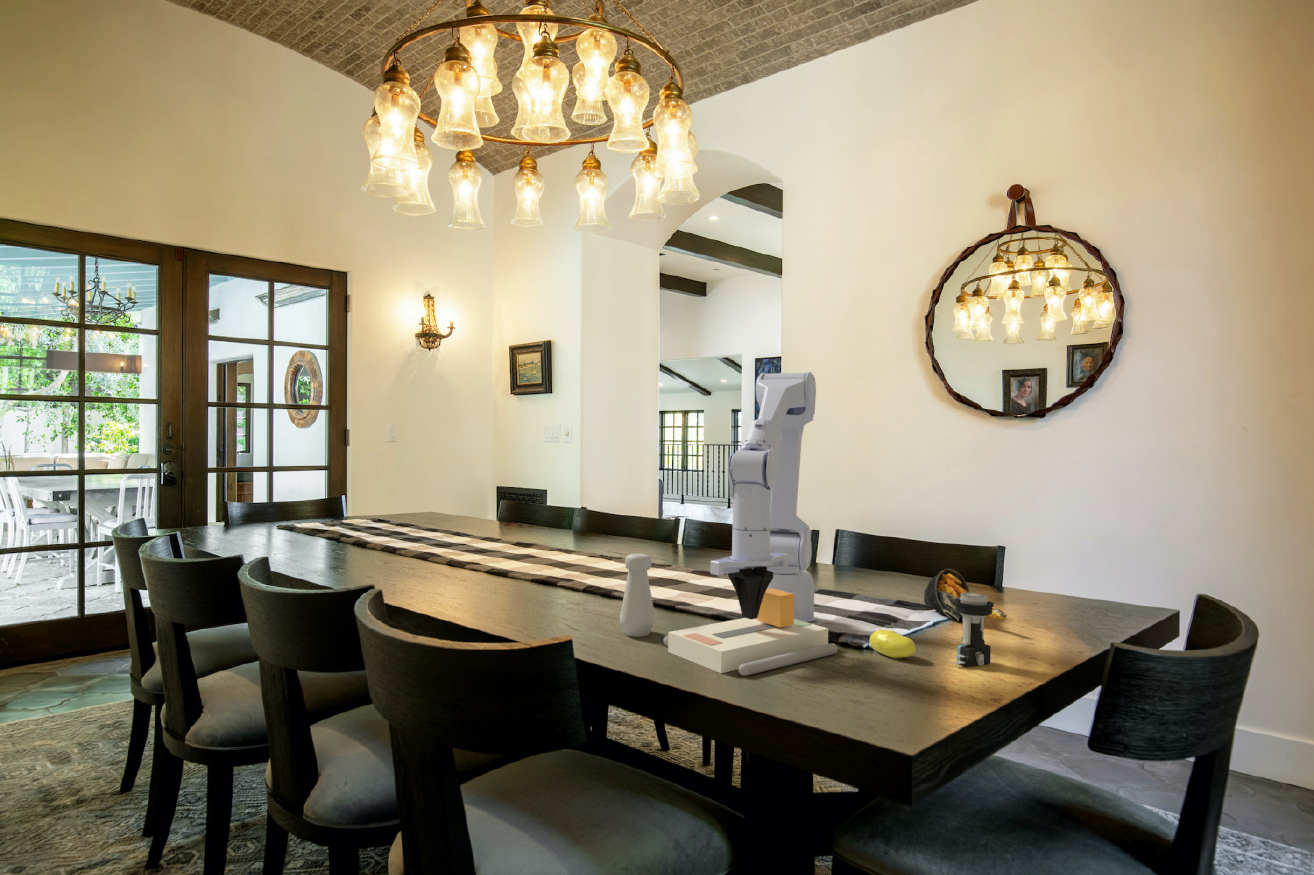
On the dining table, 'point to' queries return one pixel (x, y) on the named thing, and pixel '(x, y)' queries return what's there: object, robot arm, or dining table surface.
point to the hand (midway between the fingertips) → (749, 617)
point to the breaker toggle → (777, 608)
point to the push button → (973, 629)
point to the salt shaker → (637, 597)
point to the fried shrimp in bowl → (950, 594)
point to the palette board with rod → (783, 658)
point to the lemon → (892, 644)
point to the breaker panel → (742, 642)
